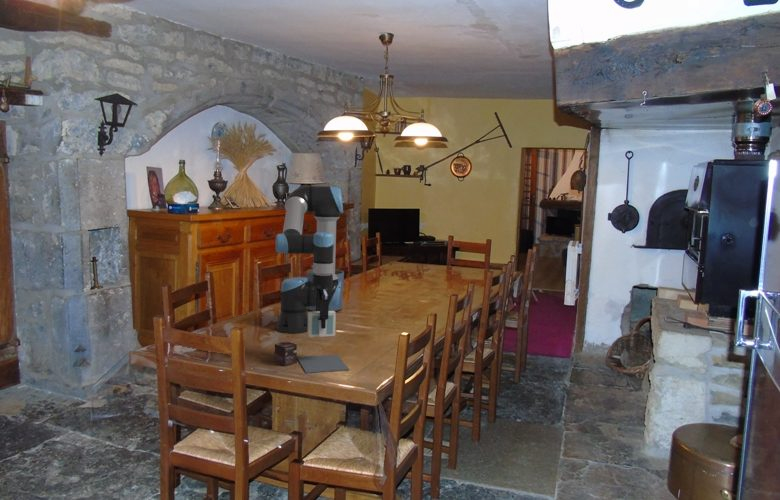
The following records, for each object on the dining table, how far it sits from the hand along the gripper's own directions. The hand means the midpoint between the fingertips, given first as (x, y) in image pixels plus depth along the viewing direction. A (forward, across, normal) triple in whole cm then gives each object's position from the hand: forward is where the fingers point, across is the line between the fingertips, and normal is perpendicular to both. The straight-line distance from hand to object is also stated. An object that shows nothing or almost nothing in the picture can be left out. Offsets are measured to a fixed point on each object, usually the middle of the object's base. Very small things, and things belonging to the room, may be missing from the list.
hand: (321, 334), depth 234 cm
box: (+11, -2, -13) cm, 17 cm away
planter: (+10, -82, +20) cm, 86 cm away
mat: (+11, +3, 0) cm, 11 cm away
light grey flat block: (0, 0, 0) cm, 0 cm away
